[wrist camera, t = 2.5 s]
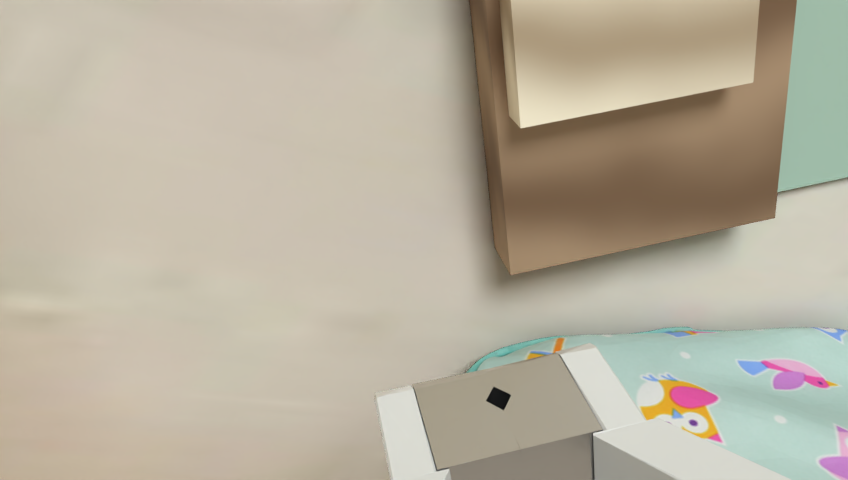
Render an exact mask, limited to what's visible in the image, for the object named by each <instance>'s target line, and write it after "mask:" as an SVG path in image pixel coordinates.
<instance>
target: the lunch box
mask: <svg viewBox="0 0 848 480" xmlns="http://www.w3.org/2000/svg"><path fill="white" fill-rule="evenodd" d="M588 343H591V344H593V345H595V346H596V347H597V348H598V350H599V351H600V353H601V354H602V355H603V357H604V358H605V360H606V361H607V363H608V364H609V366H610V367H611V369H612V370H613V372H614V373H615V375H616V376H617V377H618V379H619V380H620V382H621V383H622V385H623V386H624V388H625V389H626V391H627V392H628V394H629V395H630V397H631V398H632V399H633V401H634V402H635V404H636V405H637V407H638V408H639V410H640V411H641V413H642V414H643V416H644V417H645V419H646V420H651V419H655V418H659V419H661V420H663V421H665V422H668V423H670V424H672V425H674V426H676V427H678V428H681V429H683V430H685V431H687V432H689V433H691V434H694V435H696V436H698V437H700V438H702V439H704V440H707V441H709V442H711V443H713V444H715V445H718V446H720V447H722V448H724V449H726V450H728V451H731V452H733V453H735V454H737V455H739V456H741V457H744V458H746V459H748V460H750V461H752V462H754V463H757V464H759V465H761V466H763V467H765V468H767V469H770V470H772V471H774V472H776V473H778V474H781V475H783V476H785V477H787V478H789V479H791V480H848V331H846V330H840V329H833V328H810V327H799V328H773V329H758V330H735V331H712V330H693V329H692V328H690V327H672V328H662V329H658V330H653V331H648V332H640V333H632V334H601V335H574V336H554V337H547V338H540V339H535V340H531V341H526V342H522V343H518V344H514V345H511V346H507V347H503V348H501V349H499V350H496V351H494V352H492V353H489V354H488V355H486V356H484V357H482V358H481V359H480V360H478V361H477V362H476V363H475V364H474V365H473V366H472V367H471V368H470V369H468V371H467V372H466V373H469V372H474V371H479V370H484V369H489V368H493V367H498V366H502V365H506V364H510V363H514V362H519V361H523V360H527V359H531V358H535V357H540V356H544V355H548V354H553V353H555V352H556V351H560V350H564V349H568V348H572V347H576V346H580V345H584V344H588Z"/></svg>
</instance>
